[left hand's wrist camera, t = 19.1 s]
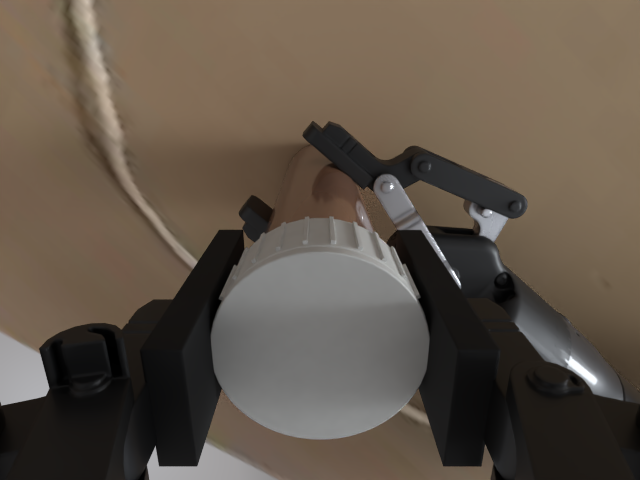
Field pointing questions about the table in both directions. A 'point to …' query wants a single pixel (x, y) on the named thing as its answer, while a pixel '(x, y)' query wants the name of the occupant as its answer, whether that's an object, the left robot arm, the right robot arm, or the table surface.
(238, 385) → the lid
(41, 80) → the table surface
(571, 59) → the table surface
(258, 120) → the table surface
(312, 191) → the jar
